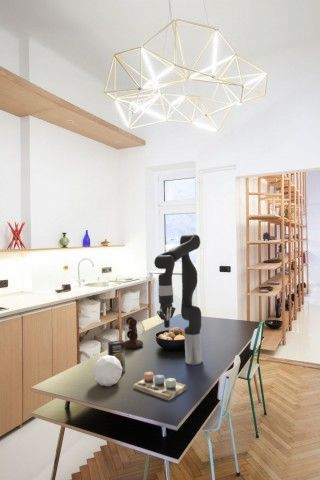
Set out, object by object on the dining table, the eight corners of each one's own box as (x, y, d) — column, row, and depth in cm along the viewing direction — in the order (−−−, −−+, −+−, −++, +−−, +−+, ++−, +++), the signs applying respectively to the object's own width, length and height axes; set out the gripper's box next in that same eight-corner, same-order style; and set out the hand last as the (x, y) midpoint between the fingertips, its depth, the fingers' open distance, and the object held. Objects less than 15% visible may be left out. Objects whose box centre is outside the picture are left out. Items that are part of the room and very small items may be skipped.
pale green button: (170, 382, 160) (169, 377, 160) (178, 384, 157) (178, 379, 157) (163, 385, 156) (163, 380, 156) (171, 388, 153) (171, 383, 153)
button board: (152, 378, 173) (152, 373, 173) (186, 389, 159) (186, 383, 159) (133, 388, 163) (133, 382, 163) (168, 400, 148) (168, 394, 148)
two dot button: (148, 375, 169) (148, 370, 169) (155, 377, 166) (155, 373, 166) (141, 378, 165) (141, 374, 165) (149, 381, 162) (149, 376, 162)
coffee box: (109, 374, 182) (108, 344, 182) (108, 369, 188) (107, 341, 189) (125, 371, 185) (124, 342, 185) (124, 367, 191) (122, 339, 191)
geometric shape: (100, 395, 168) (83, 370, 170) (122, 376, 178) (105, 353, 180) (110, 390, 157) (91, 363, 160) (132, 370, 167) (114, 345, 170)
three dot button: (158, 378, 164) (158, 374, 164) (166, 381, 161) (166, 376, 161) (152, 382, 161) (152, 377, 161) (160, 384, 157) (159, 379, 157)
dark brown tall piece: (146, 348, 225) (144, 318, 225) (125, 351, 220) (123, 321, 220) (139, 342, 239) (138, 314, 239) (119, 345, 233) (118, 317, 234)
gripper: (168, 291, 179) (169, 323, 179) (151, 295, 169) (153, 329, 169) (179, 292, 174) (180, 325, 174) (163, 296, 164) (164, 331, 164)
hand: (167, 327), depth 172 cm, fingers closed
